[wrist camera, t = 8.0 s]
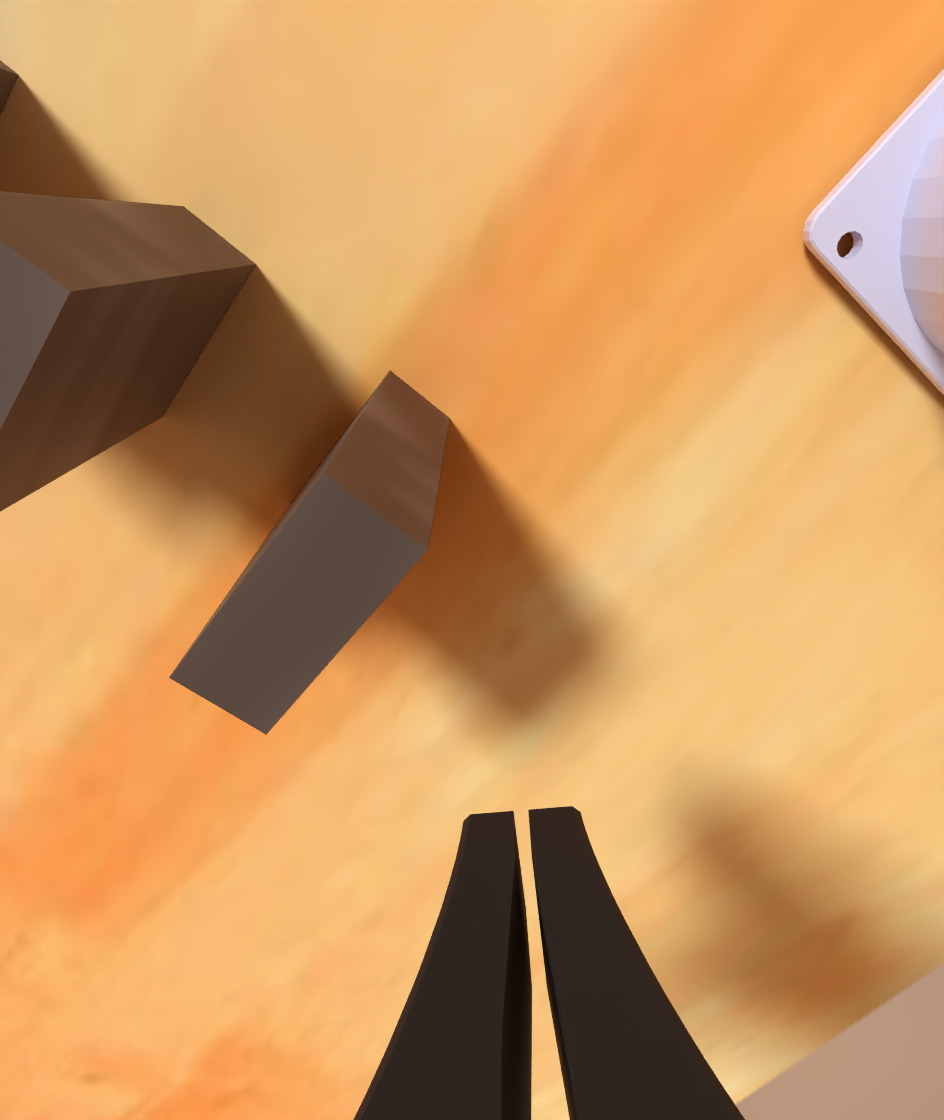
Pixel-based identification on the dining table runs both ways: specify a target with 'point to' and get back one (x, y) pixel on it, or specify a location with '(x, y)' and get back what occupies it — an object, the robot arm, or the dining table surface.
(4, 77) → the domino
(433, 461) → the domino
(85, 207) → the domino
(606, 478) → the dining table surface
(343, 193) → the dining table surface
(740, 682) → the dining table surface
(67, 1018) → the dining table surface
